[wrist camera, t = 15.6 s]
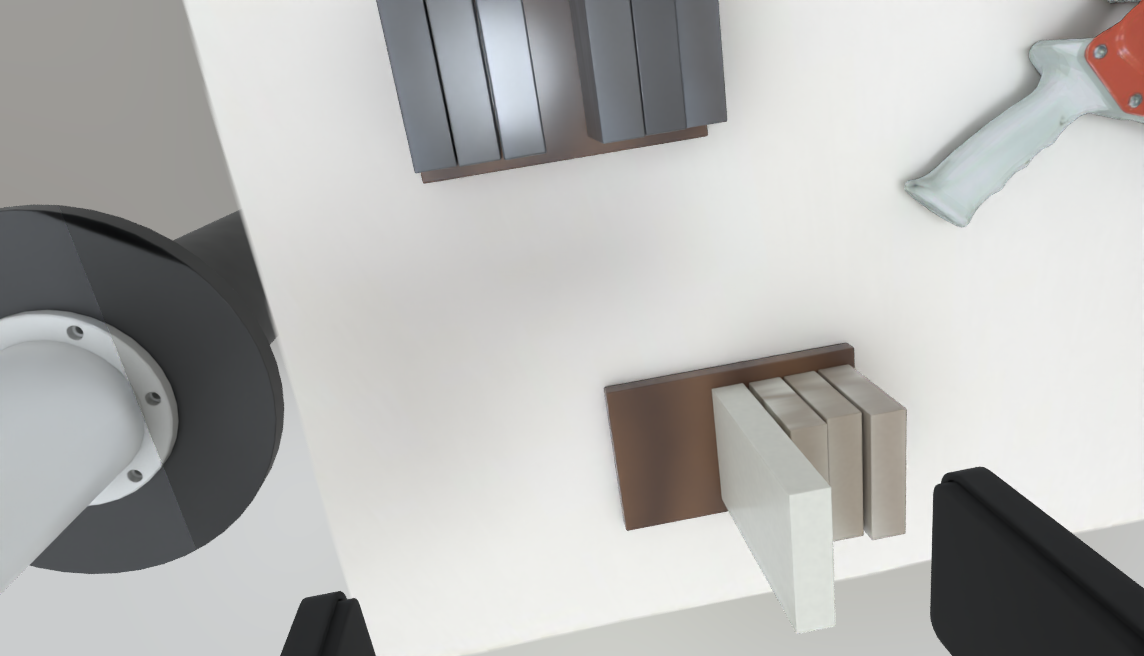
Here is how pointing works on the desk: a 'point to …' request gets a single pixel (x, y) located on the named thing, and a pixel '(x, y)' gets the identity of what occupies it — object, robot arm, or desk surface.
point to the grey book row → (550, 78)
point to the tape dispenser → (1042, 115)
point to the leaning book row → (803, 411)
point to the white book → (777, 507)
